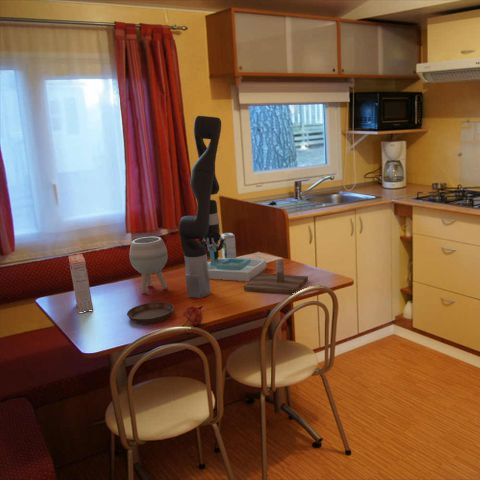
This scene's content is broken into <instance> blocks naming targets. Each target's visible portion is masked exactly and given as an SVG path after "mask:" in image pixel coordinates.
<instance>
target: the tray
mask: <svg viewBox="0 0 480 480" xmlns="http://www.w3.org/2000/svg"><path fill="white" fill-rule="evenodd" d="M225 259H226V258H223V257H218V260H225ZM250 259H251V258H250ZM229 264H234V265H238V264H236V263H229ZM266 269H267V260H266V259H251V263H250V264H249V265H247V266H246V267H244V268H243V269H242V270H224V269H216V266H211V262H210V261H209V262H208V273H209V280H210V279H211V280H221V279H222V280H224V281H236V280H237V281H238V282H250V281H251V280H253V279H254V278H255V277H257V276H258V275H259V274H260V273H262V272H264V271H265V270H266Z"/></svg>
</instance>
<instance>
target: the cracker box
mask: <svg viewBox="0 0 480 480" xmlns="http://www.w3.org/2000/svg"><path fill="white" fill-rule="evenodd" d="M68 261H69V262H68V263H69V268H70V274H71V279H72V286H73V291H74V297H75V303H76V307H77V310H78V313H79V312H84V311H89V310H93V311H94V306H93V299H92V295H91V288H90V281H89V275H88V269H87V263H86V260H85V257H84V256H83V254H82V253H80V254H73V255H72V254H71V255H68Z"/></svg>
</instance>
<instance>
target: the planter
mask: <svg viewBox="0 0 480 480" xmlns="http://www.w3.org/2000/svg"><path fill="white" fill-rule="evenodd" d="M128 255H129V261H130V264H131V266H132V267H133V268H134V270H135V271H137V272H138V273H139V274H141V280H140V281H141V284H140V293H141V295H142V294H145V293H146V291H147V287H151V286H152V274H155V275H156V277H157V280H158V281H159V283H160V286H161V288H162V290H166V289H168V286H167V283H166V280H165V278H164V274H163V272H162V270H163V268H165V266H166V264H167V261H168V250H167V246H166V244H165V242H164V240H163V238H162V237H160V236H146V237H145V236H144V237H143V236H142V237H138V238H136V239H134V240H132V241H131V244H130V248H129V254H128Z"/></svg>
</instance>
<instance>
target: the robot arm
mask: <svg viewBox="0 0 480 480" xmlns="http://www.w3.org/2000/svg"><path fill="white" fill-rule="evenodd" d="M221 132H222V120H221V118H220V117H218V116H217V117H215V116H207V115H205V116H204V115H197V116H196V117H195V119H194V122H193V136H194V142H195V147H196V151H197V156H198V158H197V160H196V162H195V163H194V164H193V166H192V168H191V175H190V182H189V183H190V188H191V190H192V193H193V195H194V197H195V200H196V204H197V207H196V208H197V209H196V215H184V216H182V217H181V218H180V221H179V223H178V224H179V225H178V228H179V229H178V231H179V239H180V243H181V249H182V251H183V257H184V265H185V266H184V267H185V282H186V293H187V298H196V299H202V298H204V297H207V296H210V294H211V285H210V279H209V273H208V263H209V262H208V258H209V259H210V251H209V249H211V248H213V247H214V251H215V252H214V256H215V259H218V258H220V255H219V253H220V252H219V251H222V248H223V245H224V243H225V241H226V239H225V238H224V239H223V238H222V237H221V234H220V233H221V232H220V231H221V230H220V220H219V213H218V204H217V203H218V202H217V201H216V200H214V199H211V198H212V196H213V195H217V194H218V193H219V192H220V185H219V182H218V179H217V176H216V160H217V159H216V157H217V152H218V147H219V142H220V136H221ZM204 140H210V141H209V144H208V146H207V145H206V143H205V141H204ZM207 253H208V254H207Z"/></svg>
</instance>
